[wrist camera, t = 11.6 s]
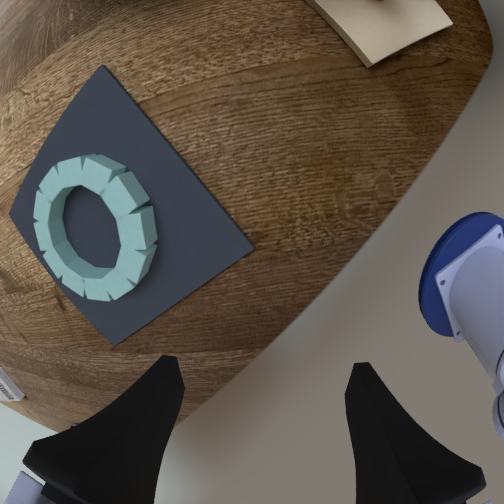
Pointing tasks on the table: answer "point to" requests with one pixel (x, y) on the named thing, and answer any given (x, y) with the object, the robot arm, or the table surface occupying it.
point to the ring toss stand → (381, 24)
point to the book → (9, 388)
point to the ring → (122, 207)
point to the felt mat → (161, 198)
